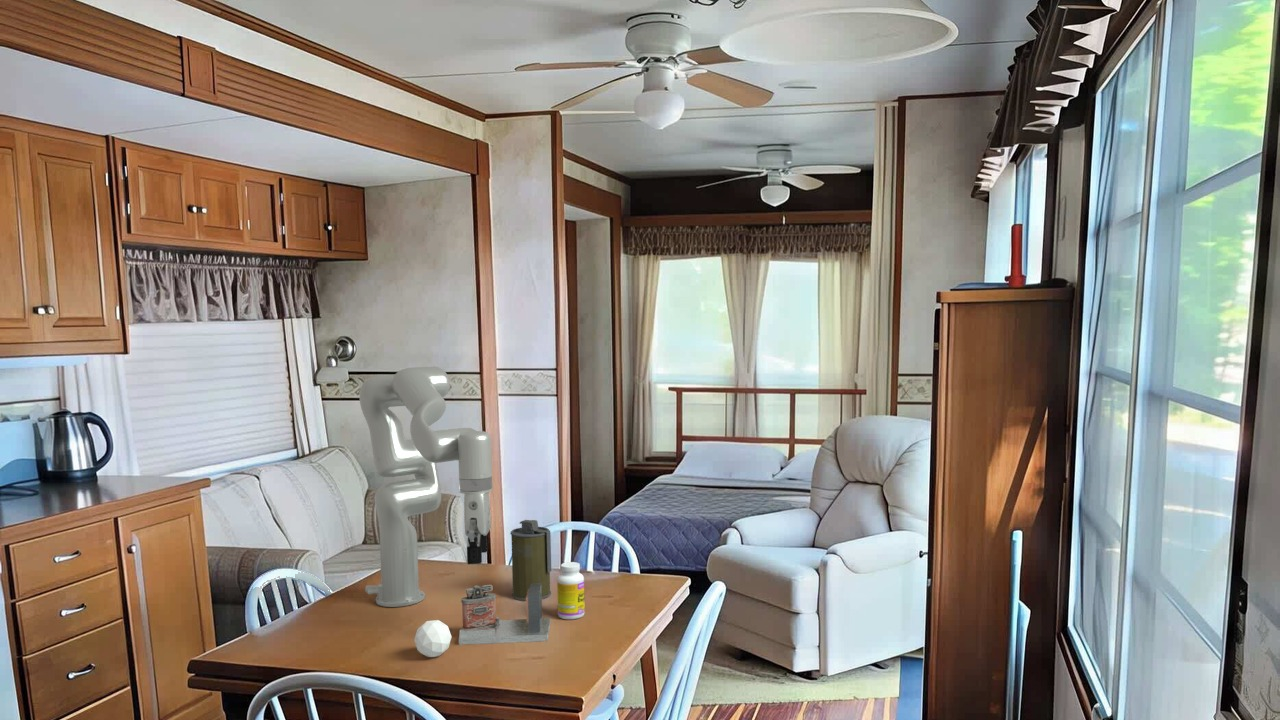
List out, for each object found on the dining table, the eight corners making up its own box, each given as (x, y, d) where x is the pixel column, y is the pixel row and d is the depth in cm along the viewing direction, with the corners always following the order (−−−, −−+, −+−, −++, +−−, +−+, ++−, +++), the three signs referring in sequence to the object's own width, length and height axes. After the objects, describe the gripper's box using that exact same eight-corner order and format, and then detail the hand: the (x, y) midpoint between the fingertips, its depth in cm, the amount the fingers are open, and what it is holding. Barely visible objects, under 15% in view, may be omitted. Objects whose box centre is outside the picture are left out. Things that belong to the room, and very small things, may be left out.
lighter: (464, 633, 191) (462, 590, 191) (460, 629, 194) (459, 586, 194) (498, 627, 194) (497, 585, 194) (494, 623, 197) (493, 581, 197)
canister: (504, 598, 221) (502, 524, 220) (524, 587, 230) (522, 515, 230) (540, 603, 216) (538, 526, 216) (559, 591, 226) (557, 518, 225)
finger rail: (458, 644, 188) (457, 598, 188) (466, 627, 199) (465, 584, 199) (547, 641, 189) (546, 595, 189) (550, 624, 200) (548, 581, 200)
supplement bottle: (580, 621, 202) (579, 568, 202) (554, 619, 203) (553, 567, 203) (588, 612, 209) (586, 561, 208) (562, 610, 210) (561, 560, 210)
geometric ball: (429, 664, 184) (429, 628, 189) (458, 655, 182) (458, 619, 186) (406, 658, 178) (407, 621, 183) (436, 648, 176) (436, 611, 180)
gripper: (487, 491, 184) (489, 567, 185) (496, 477, 202) (498, 547, 202) (453, 492, 184) (455, 568, 185) (465, 478, 201) (467, 548, 202)
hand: (477, 557), depth 193 cm, fingers open, 9 cm apart
